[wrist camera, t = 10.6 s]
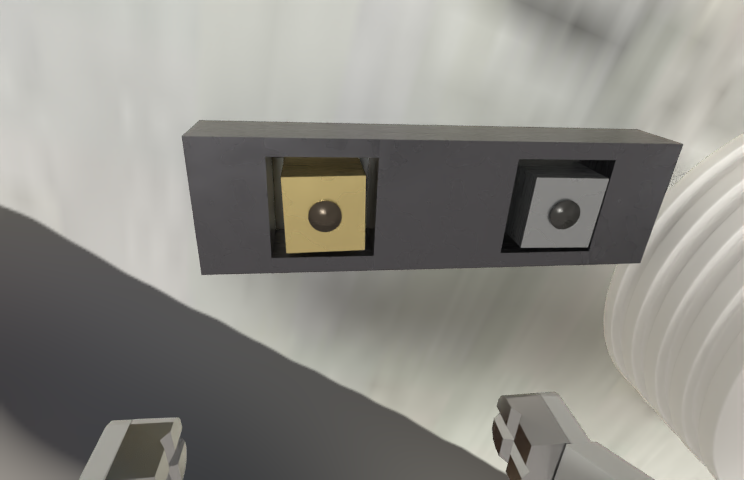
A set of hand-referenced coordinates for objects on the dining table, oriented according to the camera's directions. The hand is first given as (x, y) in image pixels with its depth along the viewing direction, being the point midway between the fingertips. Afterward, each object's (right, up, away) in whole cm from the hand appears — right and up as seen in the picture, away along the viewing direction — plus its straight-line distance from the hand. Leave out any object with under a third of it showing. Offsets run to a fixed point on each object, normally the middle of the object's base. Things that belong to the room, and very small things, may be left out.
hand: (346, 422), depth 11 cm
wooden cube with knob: (-3, +8, +17) cm, 19 cm away
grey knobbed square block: (+11, +8, +19) cm, 23 cm away
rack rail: (+4, +8, +18) cm, 20 cm away
